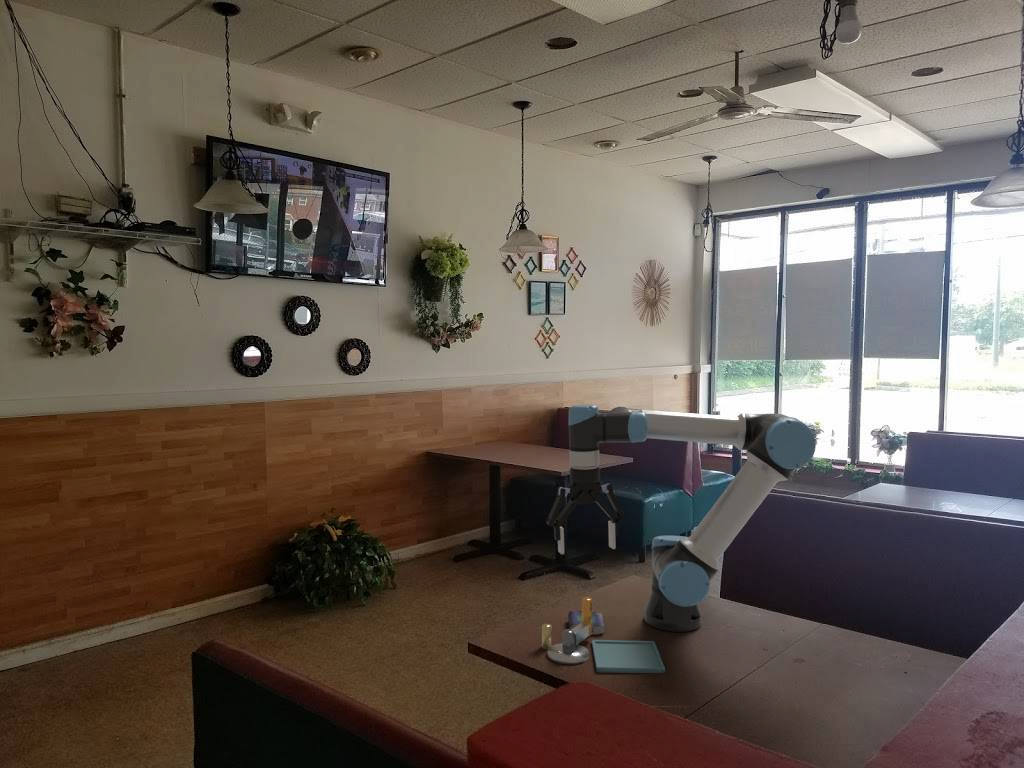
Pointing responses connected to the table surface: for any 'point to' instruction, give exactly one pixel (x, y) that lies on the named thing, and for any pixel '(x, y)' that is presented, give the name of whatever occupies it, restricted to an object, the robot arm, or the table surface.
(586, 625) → the crank
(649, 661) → the tray
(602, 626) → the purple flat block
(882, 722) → the table surface
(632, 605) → the table surface
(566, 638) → the crank base
